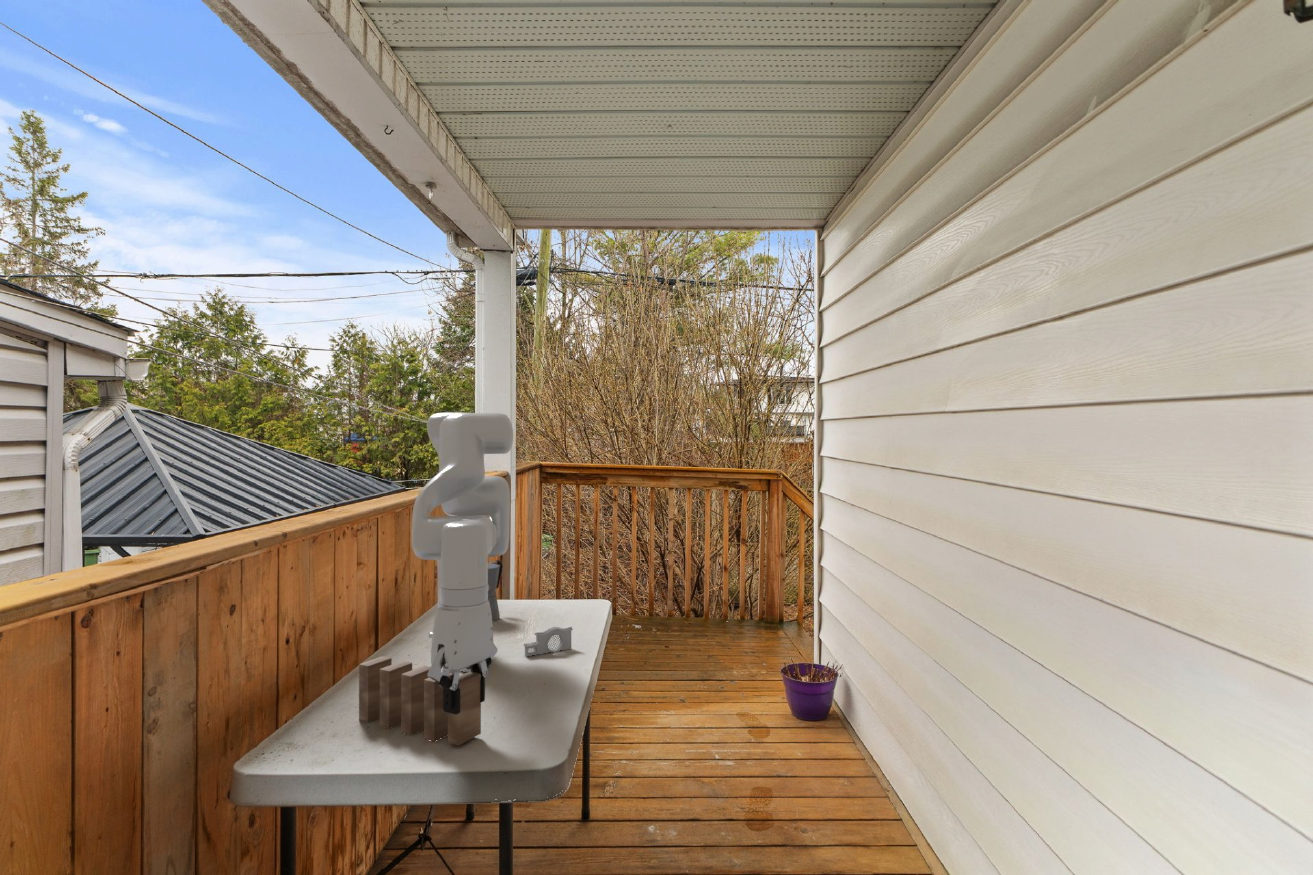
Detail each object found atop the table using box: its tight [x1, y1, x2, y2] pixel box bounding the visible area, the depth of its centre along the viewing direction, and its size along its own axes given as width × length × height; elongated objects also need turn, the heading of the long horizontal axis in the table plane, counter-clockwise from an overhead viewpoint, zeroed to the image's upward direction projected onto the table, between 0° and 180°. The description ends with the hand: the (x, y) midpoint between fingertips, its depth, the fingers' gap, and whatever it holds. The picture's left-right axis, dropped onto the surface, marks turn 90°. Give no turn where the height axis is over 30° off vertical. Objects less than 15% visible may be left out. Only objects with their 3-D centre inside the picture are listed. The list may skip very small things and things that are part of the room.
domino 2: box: [379, 660, 413, 730], centre depth 115 cm, size 2×5×10 cm, turn 151°
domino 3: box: [400, 665, 431, 736], centre depth 113 cm, size 2×5×10 cm, turn 151°
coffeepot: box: [488, 559, 503, 622], centre depth 185 cm, size 15×9×18 cm, turn 159°
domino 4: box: [423, 673, 452, 743], centre depth 110 cm, size 2×5×10 cm, turn 151°
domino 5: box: [447, 672, 482, 747], centre depth 108 cm, size 2×5×10 cm, turn 151°
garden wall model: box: [523, 626, 574, 657], centre depth 154 cm, size 12×2×6 cm, turn 123°
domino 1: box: [358, 655, 393, 723], centre depth 118 cm, size 2×5×10 cm, turn 152°
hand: (464, 705), depth 108 cm, fingers closed on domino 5, 4 cm apart
